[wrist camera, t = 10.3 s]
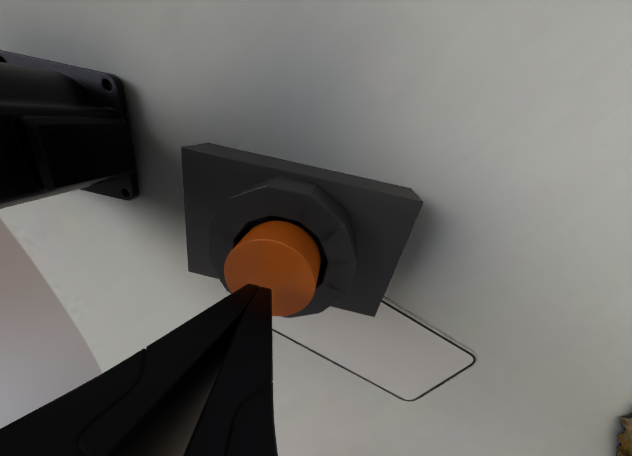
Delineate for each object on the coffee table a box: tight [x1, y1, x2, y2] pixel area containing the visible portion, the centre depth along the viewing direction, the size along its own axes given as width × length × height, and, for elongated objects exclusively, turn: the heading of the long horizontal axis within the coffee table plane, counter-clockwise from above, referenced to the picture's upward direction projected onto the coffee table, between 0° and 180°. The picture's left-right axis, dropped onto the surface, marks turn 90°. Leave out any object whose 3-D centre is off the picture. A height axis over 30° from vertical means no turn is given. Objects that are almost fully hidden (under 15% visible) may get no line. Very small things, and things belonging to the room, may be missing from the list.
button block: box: [181, 143, 423, 318], centre depth 12 cm, size 11×7×4 cm, turn 79°
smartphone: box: [272, 297, 477, 401], centre depth 17 cm, size 7×1×15 cm
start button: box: [224, 221, 321, 316], centre depth 10 cm, size 4×4×2 cm
